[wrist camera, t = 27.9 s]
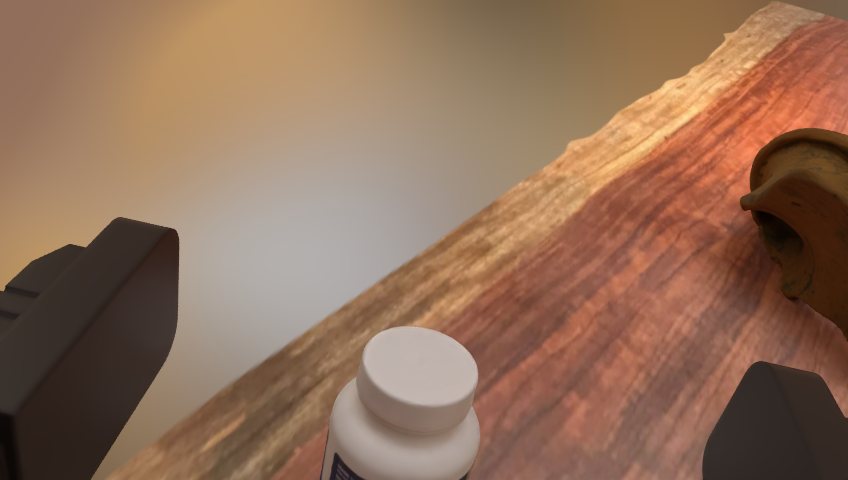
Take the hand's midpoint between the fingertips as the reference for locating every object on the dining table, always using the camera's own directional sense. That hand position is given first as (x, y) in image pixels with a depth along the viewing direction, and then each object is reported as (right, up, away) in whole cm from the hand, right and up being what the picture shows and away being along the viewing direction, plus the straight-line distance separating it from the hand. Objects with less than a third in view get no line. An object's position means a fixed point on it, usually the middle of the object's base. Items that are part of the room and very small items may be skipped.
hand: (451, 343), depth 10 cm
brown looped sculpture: (+28, -3, +44) cm, 52 cm away
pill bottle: (-2, -11, +19) cm, 22 cm away
